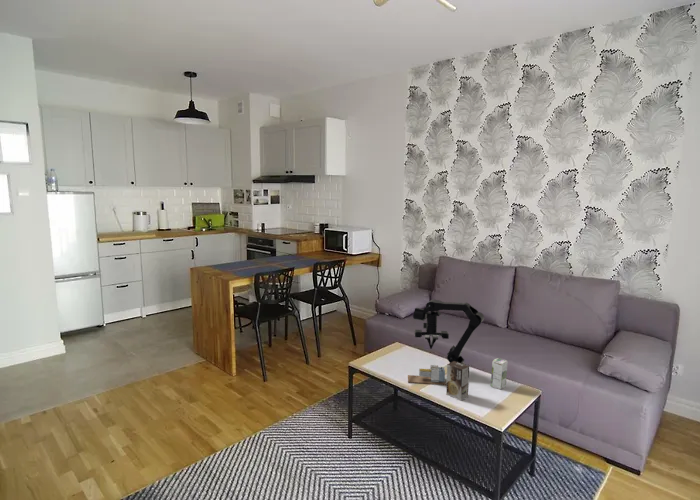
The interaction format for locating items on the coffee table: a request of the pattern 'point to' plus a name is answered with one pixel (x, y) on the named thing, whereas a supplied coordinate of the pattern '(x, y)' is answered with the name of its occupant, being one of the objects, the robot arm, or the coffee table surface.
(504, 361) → the syrup box
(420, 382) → the board
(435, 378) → the grey slotted block
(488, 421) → the coffee table surface
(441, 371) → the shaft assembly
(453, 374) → the coffee box
